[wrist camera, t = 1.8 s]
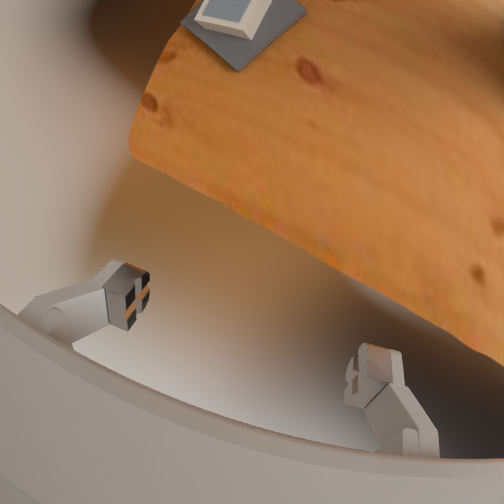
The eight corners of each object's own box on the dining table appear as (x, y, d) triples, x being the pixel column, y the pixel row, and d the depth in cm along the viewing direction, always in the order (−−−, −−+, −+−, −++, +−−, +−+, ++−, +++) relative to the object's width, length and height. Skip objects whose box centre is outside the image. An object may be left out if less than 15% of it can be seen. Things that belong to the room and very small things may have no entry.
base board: (244, -30, 36) (232, -47, 31) (307, 12, 36) (300, -5, 31) (184, 25, 42) (166, 13, 37) (239, 72, 42) (224, 61, 36)
